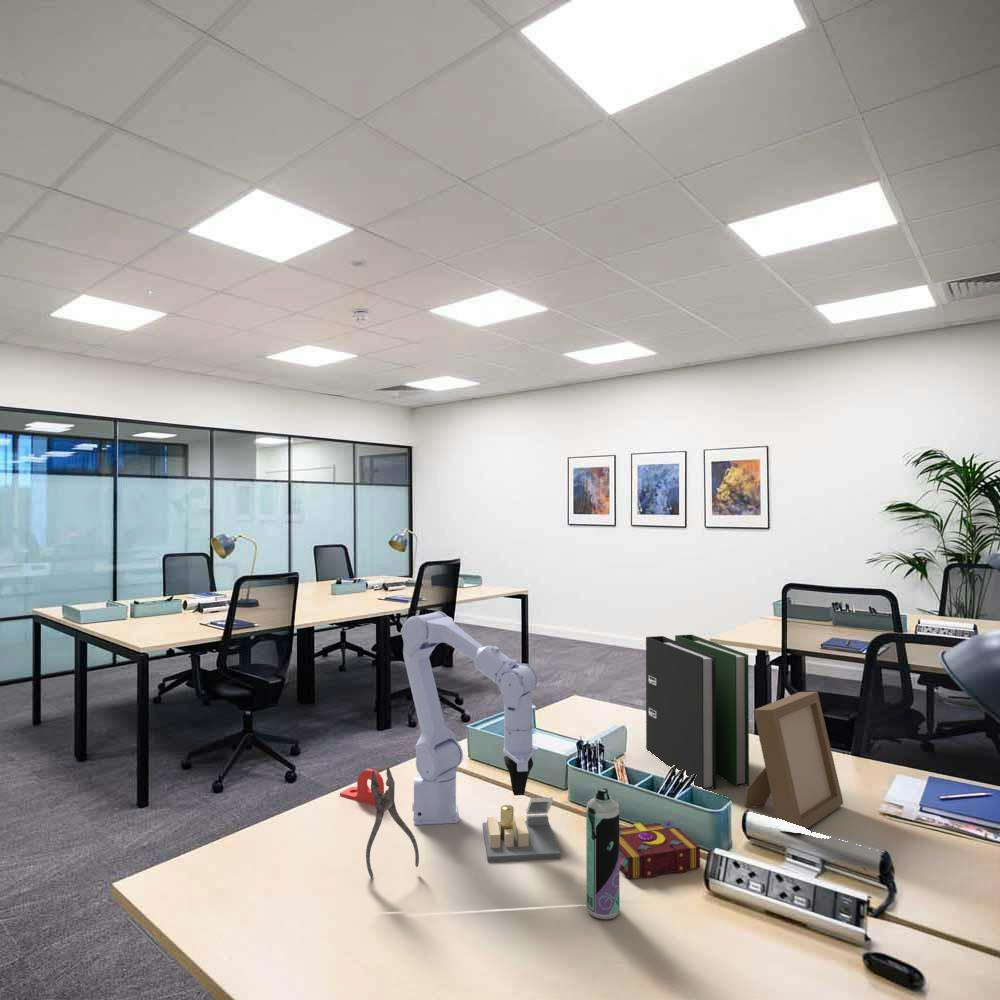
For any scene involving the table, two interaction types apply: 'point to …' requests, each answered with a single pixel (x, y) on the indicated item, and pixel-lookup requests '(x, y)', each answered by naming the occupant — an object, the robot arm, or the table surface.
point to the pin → (507, 819)
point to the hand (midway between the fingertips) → (518, 793)
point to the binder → (698, 708)
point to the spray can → (602, 856)
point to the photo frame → (795, 761)
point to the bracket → (364, 788)
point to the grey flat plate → (539, 805)
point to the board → (525, 853)
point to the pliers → (383, 803)
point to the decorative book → (656, 850)
